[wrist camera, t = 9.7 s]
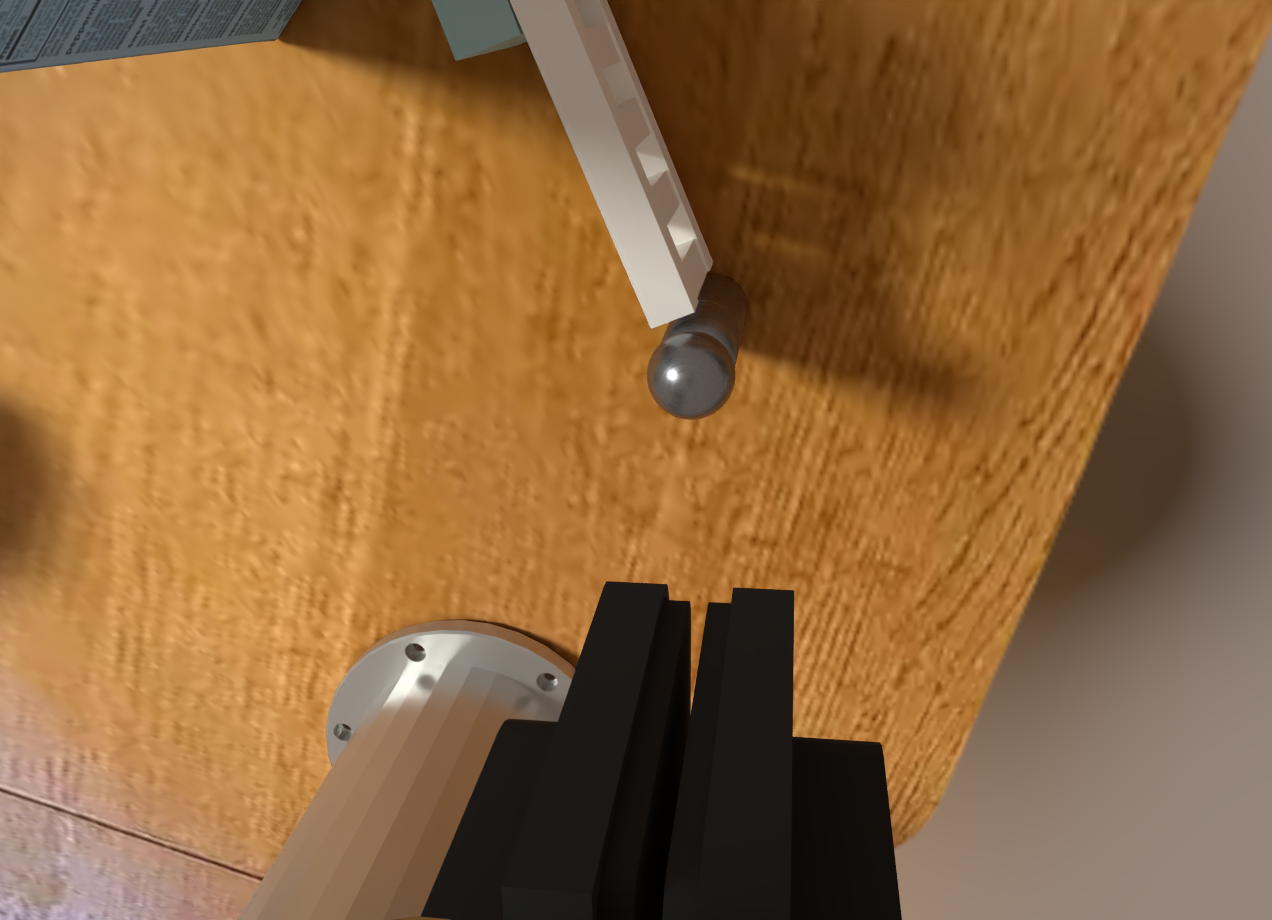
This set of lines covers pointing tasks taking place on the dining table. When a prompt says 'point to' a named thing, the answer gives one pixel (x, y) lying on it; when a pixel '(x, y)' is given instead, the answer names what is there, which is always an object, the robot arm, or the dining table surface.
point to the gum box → (129, 28)
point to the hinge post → (700, 352)
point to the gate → (619, 151)
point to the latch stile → (478, 26)
